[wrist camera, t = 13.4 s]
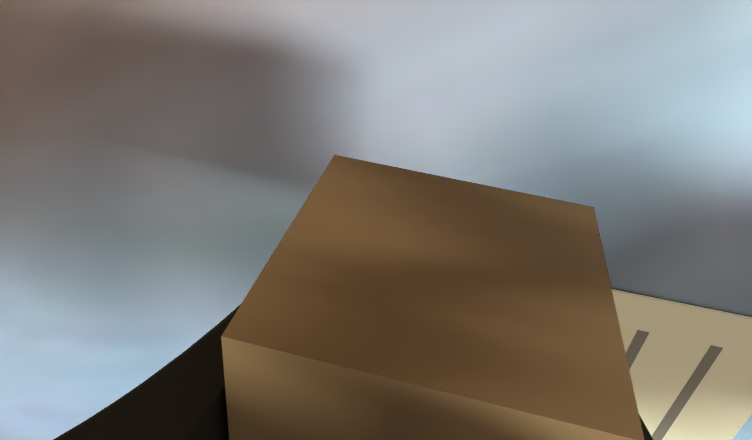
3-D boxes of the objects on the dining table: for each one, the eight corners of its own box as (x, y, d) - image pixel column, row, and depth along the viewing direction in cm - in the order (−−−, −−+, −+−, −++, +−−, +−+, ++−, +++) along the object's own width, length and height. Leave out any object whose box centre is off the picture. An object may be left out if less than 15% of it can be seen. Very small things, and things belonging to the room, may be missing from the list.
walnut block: (593, 207, 10) (644, 442, 6) (523, 381, 13) (525, 621, 9) (334, 154, 11) (221, 336, 7) (321, 332, 14) (236, 536, 9)
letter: (815, 330, 18) (816, 332, 18) (662, 524, 25) (662, 526, 25) (296, 225, 20) (295, 227, 20) (295, 432, 28) (294, 434, 28)
